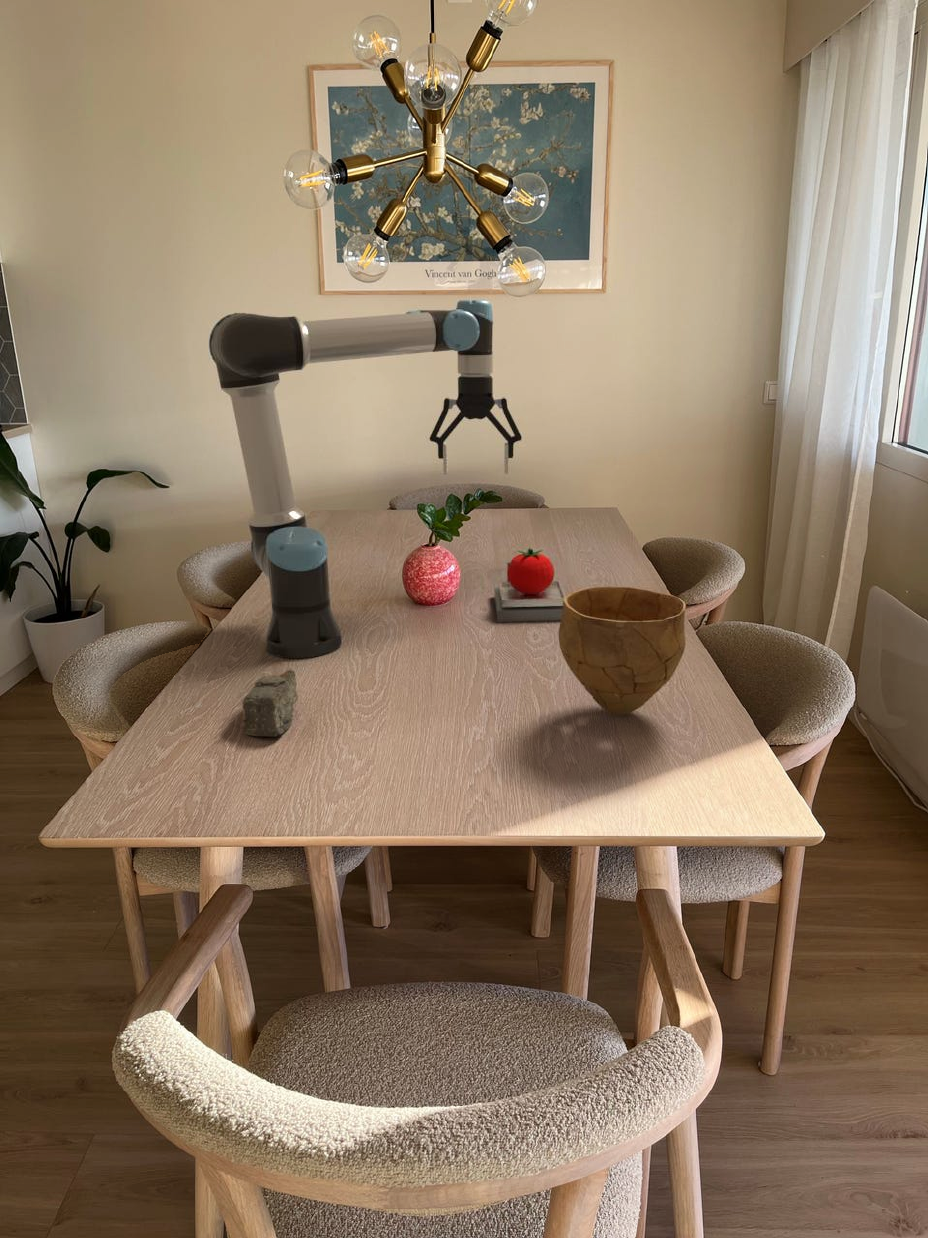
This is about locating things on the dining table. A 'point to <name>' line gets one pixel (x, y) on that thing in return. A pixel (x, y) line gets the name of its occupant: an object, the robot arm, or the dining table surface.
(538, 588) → the tomato
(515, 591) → the pan
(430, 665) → the dining table surface
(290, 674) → the rock
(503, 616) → the scale body
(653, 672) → the bowl
